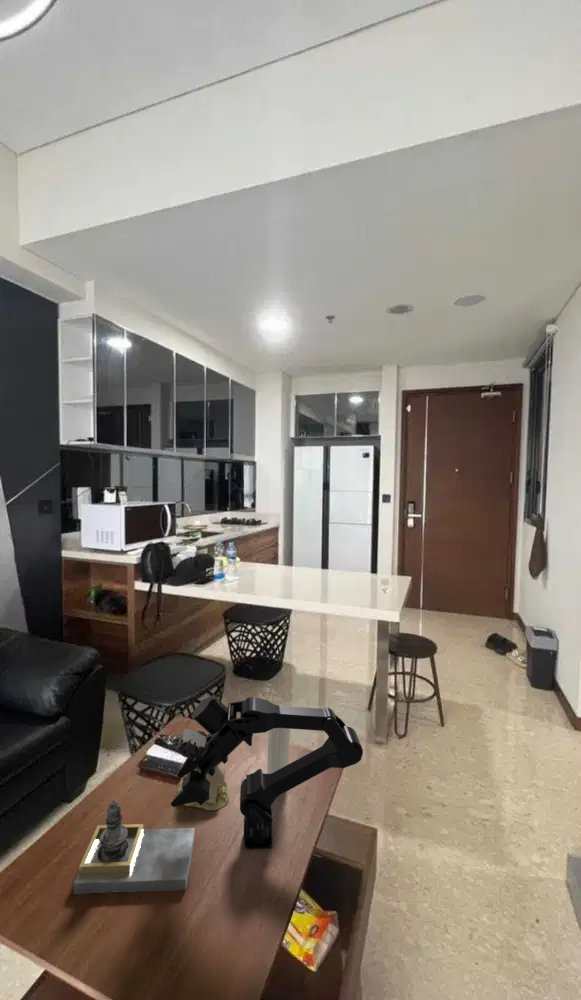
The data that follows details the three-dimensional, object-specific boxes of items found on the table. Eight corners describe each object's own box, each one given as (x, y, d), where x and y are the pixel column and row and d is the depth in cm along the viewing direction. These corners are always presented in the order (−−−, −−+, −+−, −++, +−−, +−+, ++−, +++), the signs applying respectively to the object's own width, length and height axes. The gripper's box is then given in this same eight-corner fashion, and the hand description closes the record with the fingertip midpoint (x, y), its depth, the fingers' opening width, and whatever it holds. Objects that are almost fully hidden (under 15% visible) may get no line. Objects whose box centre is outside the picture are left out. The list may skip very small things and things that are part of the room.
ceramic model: (231, 780, 123) (232, 747, 123) (227, 811, 112) (228, 775, 112) (181, 781, 123) (182, 747, 122) (173, 812, 111) (174, 776, 111)
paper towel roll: (275, 771, 128) (278, 702, 126) (292, 780, 124) (294, 709, 122) (260, 785, 122) (262, 713, 120) (276, 795, 118) (279, 721, 117)
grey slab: (194, 837, 104) (195, 822, 104) (185, 890, 91) (186, 872, 91) (97, 840, 102) (97, 824, 102) (73, 894, 89) (73, 876, 89)
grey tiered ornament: (109, 867, 93) (109, 815, 92) (94, 852, 96) (94, 802, 95) (133, 847, 98) (133, 798, 97) (117, 834, 101) (117, 786, 100)
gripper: (202, 700, 110) (158, 742, 110) (193, 747, 92) (140, 799, 91) (232, 728, 111) (189, 770, 111) (230, 780, 93) (178, 831, 93)
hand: (175, 789), depth 102 cm, fingers open, 9 cm apart
